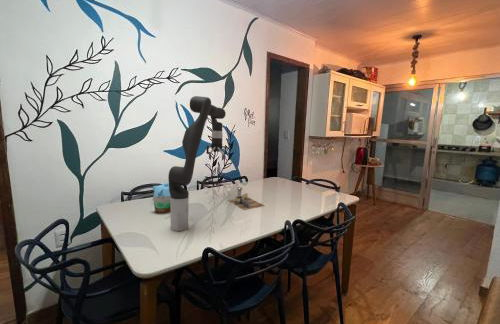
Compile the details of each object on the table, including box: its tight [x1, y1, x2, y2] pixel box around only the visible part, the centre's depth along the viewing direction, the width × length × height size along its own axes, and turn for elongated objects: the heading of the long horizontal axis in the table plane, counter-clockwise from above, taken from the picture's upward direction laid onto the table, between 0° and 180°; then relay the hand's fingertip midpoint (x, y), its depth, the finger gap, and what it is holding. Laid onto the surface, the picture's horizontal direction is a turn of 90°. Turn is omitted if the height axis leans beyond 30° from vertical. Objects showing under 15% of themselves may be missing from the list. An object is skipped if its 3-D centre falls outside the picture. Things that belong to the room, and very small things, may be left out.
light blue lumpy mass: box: [152, 182, 170, 197], centre depth 171 cm, size 18×16×14 cm
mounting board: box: [227, 196, 266, 211], centre depth 173 cm, size 22×18×1 cm
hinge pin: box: [236, 186, 243, 198], centre depth 173 cm, size 4×4×11 cm
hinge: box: [234, 192, 250, 208], centre depth 173 cm, size 18×14×4 cm
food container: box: [152, 195, 170, 215], centre depth 151 cm, size 12×6×10 cm, turn 105°
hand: (216, 159), depth 175 cm, fingers open, 8 cm apart
